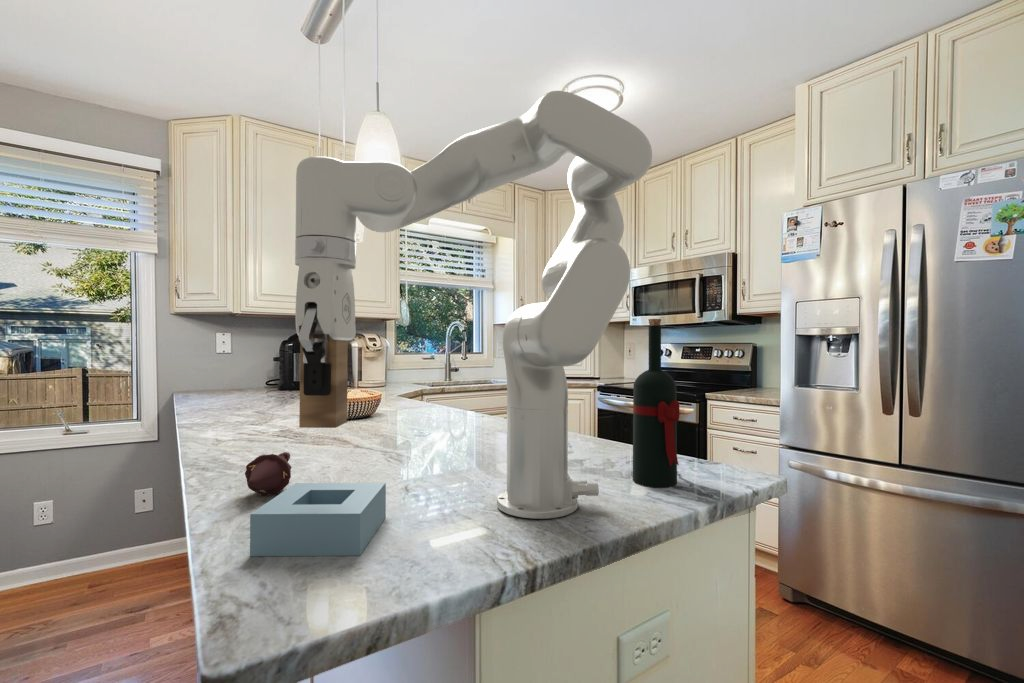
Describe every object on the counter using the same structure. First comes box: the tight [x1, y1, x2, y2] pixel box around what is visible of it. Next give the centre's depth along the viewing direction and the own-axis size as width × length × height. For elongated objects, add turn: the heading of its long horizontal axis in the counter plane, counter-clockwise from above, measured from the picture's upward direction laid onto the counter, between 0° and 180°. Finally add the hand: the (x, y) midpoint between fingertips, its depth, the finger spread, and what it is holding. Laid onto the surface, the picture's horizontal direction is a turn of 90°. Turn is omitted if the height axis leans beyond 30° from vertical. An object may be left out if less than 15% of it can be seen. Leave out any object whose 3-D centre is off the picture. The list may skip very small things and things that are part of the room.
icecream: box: [244, 451, 293, 497], centre depth 82 cm, size 7×7×15 cm
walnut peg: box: [298, 334, 349, 429], centre depth 65 cm, size 5×5×12 cm
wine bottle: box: [632, 318, 680, 489], centre depth 89 cm, size 8×10×30 cm
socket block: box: [249, 482, 387, 557], centre depth 65 cm, size 13×13×5 cm
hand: (324, 391), depth 65 cm, fingers closed on walnut peg, 4 cm apart
